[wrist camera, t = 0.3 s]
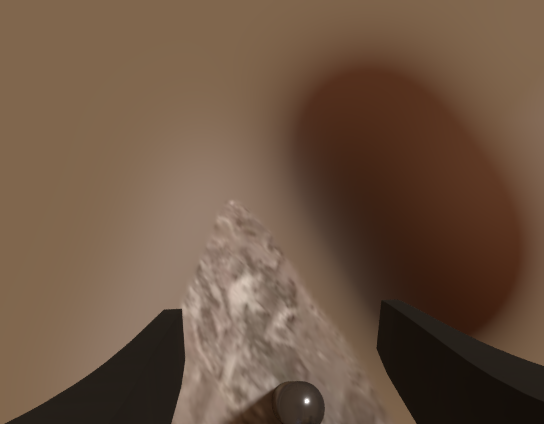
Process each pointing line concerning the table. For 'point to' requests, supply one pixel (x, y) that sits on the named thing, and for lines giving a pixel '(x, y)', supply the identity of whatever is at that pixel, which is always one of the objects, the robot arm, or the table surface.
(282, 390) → the black rounded block
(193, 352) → the table surface
